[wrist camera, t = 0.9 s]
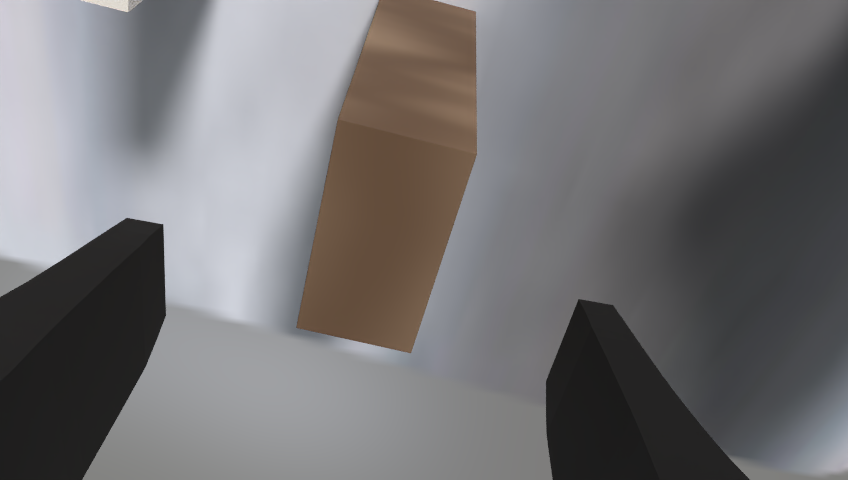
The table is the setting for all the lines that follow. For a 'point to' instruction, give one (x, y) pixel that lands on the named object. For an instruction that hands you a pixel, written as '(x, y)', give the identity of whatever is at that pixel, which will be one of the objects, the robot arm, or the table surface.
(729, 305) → the table surface
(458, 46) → the tall wooden plank
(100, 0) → the tile
